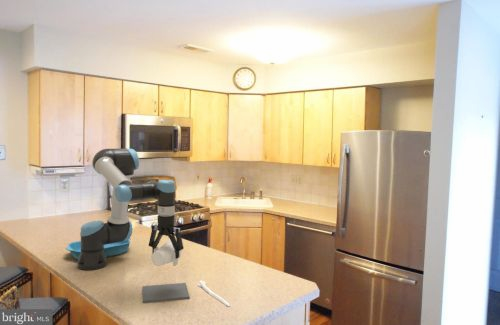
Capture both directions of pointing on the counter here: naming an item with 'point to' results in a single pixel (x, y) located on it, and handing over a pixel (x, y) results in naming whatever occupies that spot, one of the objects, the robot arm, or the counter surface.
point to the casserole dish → (108, 248)
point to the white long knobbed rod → (203, 285)
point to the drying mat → (165, 292)
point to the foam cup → (164, 254)
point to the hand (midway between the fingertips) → (165, 263)
